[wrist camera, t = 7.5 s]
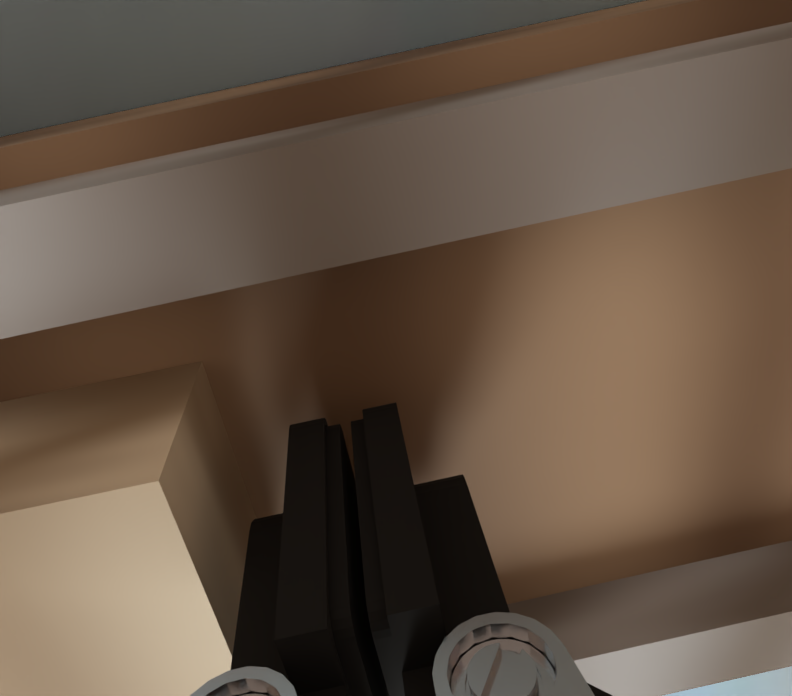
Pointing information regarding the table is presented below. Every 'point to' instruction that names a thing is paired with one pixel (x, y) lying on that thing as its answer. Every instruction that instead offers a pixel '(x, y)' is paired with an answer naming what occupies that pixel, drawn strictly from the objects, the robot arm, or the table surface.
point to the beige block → (119, 538)
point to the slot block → (474, 301)
